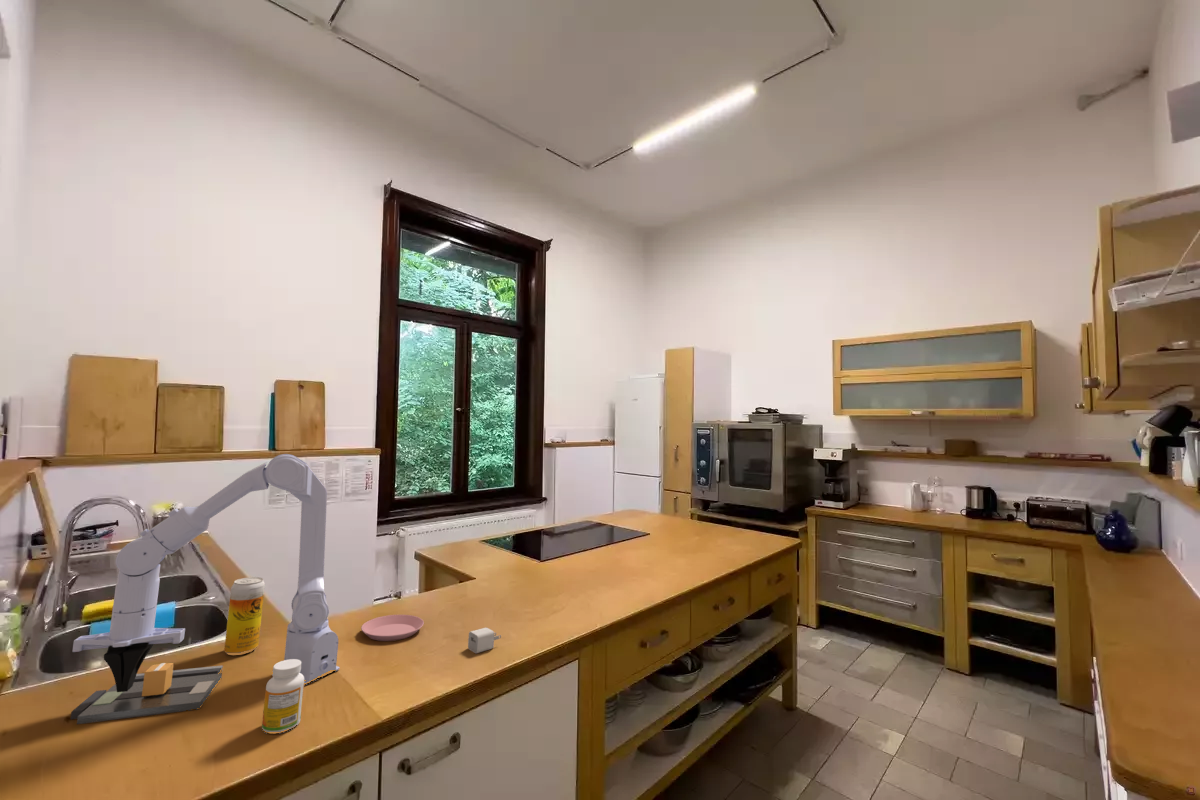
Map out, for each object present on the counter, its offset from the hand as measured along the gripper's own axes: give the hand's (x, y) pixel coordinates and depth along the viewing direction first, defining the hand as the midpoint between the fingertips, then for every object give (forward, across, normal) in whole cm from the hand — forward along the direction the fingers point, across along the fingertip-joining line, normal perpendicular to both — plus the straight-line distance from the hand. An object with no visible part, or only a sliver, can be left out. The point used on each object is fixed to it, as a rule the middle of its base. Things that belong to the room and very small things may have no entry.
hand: (124, 689), depth 85 cm
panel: (+2, +4, 0) cm, 5 cm away
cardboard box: (+1, +5, 0) cm, 5 cm away
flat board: (+2, +3, +3) cm, 5 cm away
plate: (+3, +43, +23) cm, 48 cm away
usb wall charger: (+3, +63, +8) cm, 64 cm away
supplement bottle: (+3, +26, -15) cm, 30 cm away
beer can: (+3, +12, +19) cm, 23 cm away
